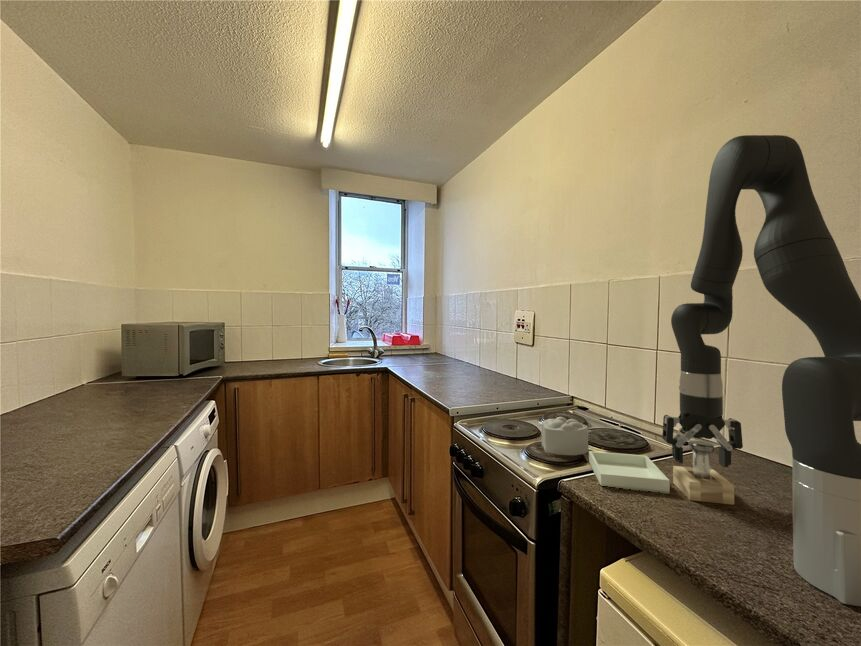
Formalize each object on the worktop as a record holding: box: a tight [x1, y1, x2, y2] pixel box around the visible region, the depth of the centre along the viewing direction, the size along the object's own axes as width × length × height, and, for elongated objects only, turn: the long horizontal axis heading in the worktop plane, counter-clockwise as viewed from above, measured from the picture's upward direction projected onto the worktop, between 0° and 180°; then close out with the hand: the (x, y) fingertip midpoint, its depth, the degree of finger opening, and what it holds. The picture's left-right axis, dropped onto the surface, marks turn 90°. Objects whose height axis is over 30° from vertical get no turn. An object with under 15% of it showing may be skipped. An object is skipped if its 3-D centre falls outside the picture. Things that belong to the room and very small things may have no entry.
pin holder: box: [672, 465, 735, 505], centre depth 74 cm, size 8×8×4 cm
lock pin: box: [688, 439, 715, 479], centre depth 74 cm, size 4×4×11 cm
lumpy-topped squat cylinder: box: [540, 416, 589, 456], centre depth 101 cm, size 10×13×9 cm
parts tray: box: [588, 450, 671, 495], centre depth 83 cm, size 14×14×3 cm
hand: (701, 464), depth 75 cm, fingers open, 8 cm apart
